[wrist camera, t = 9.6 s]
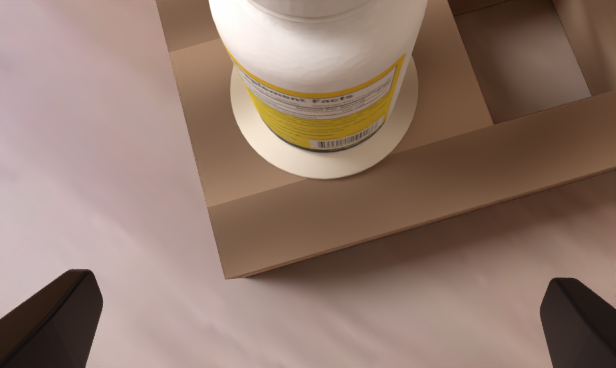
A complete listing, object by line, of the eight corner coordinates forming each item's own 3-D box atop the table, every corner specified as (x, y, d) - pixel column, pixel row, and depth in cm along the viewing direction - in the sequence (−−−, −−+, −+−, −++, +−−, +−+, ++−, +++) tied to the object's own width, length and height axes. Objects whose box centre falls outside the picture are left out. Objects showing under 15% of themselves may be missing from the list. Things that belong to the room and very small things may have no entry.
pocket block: (669, 154, 22) (752, 125, 17) (243, 277, 21) (223, 279, 17) (570, -72, 24) (622, -145, 20) (182, 38, 24) (151, -12, 19)
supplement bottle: (298, 1, 19) (264, -278, 9) (421, 63, 18) (519, -172, 9) (226, 115, 18) (109, -62, 9) (351, 184, 18) (374, 74, 8)
